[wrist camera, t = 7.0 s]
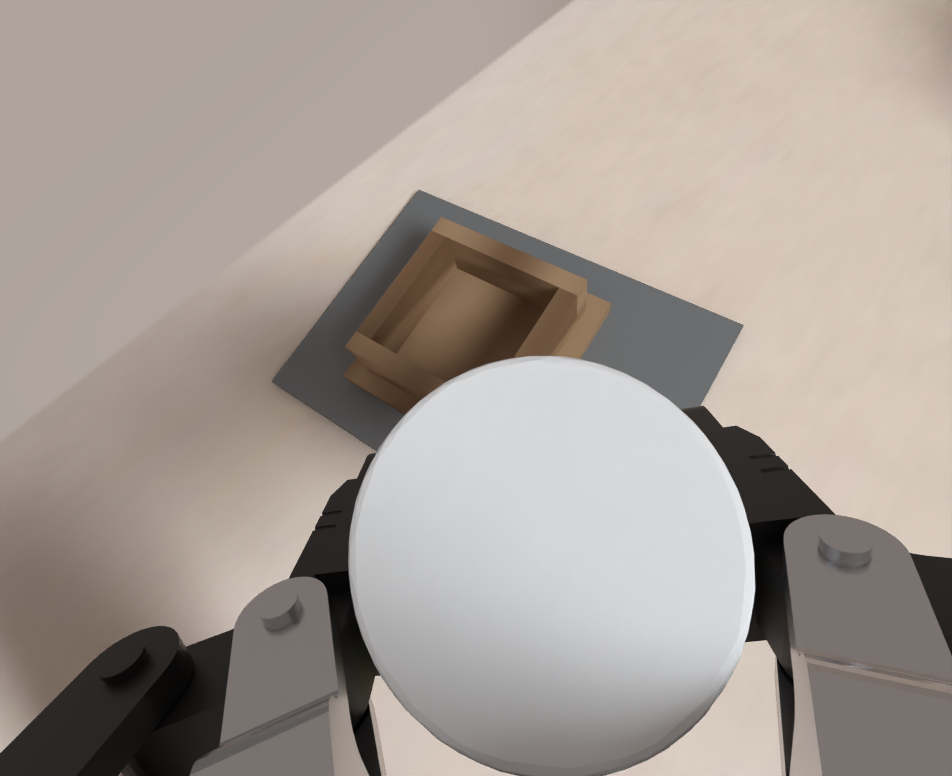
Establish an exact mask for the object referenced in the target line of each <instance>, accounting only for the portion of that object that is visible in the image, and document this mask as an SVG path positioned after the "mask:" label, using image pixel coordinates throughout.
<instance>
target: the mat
mask: <svg viewBox="0 0 952 776" xmlns="http://www.w3.org/2000/svg"><path fill="white" fill-rule="evenodd" d="M441 217H443V218H445V219H448V220H450V221H452V222H455V223H457V224H459V225H462V226H464V227H466V228H469V229H471V230H473V231H475V232H478V233H480V234H482V235H485V236H487V237H489V238H492V239H494V240H496V241H499V242H501V243H503V244H506V245H508V246H510V247H513V248H515V249H517V250H519V251H522V252H524V253H526V254H529V255H531V256H533V257H536V258H538V259H540V260H543V261H545V262H547V263H550V264H552V265H554V266H557V267H559V268H561V269H564V270H566V271H568V272H570V273H573V274H575V275H577V276H580V277H582V278H584V279H587V293H589V294H592V295H594V296H596V297H598V298H601V299H603V300H605V301H607V302H610V303H611V307H610V313H609V314H608V316H607V317H606V319H605V321H604V322H603V324H602V326H601V327H600V329H599V330H598V332H597V334H596V335H595V337H594V339H593V340H592V342H591V343H590V345H589V347H588V348H587V350H586V352H585V353H584V355H583V356H582V358H581V359H582V360H586V361H590V362H594V363H598V364H602V365H605V366H608V367H610V368H613V369H615V370H618V371H620V372H623V373H625V374H627V375H629V376H631V377H633V378H635V379H637V380H639V381H641V382H643V383H645V384H646V385H648V386H649V387H651V388H652V389H654V390H655V391H657V392H658V393H660V394H661V395H663V396H664V397H666V398H667V399H668V400H670V401H671V402H672V403H673V404H674V405H676V406H677V407H678V408H679V409H684V408H691V407H698V406H701V404H702V402H703V400H704V398H705V396H706V394H707V393H708V391H709V389H710V387H711V385H712V383H713V381H714V380H715V378H716V376H717V374H718V372H719V370H720V368H721V367H722V365H723V363H724V361H725V359H726V357H727V356H728V354H729V352H730V350H731V348H732V346H733V344H734V343H735V341H736V339H737V337H738V335H739V333H740V331H741V330H742V328H743V326H744V325H742V324H740V323H737V322H735V321H732V320H730V319H728V318H725V317H723V316H720V315H718V314H716V313H713V312H711V311H708V310H706V309H704V308H701V307H699V306H696V305H694V304H692V303H689V302H687V301H684V300H682V299H680V298H677V297H675V296H672V295H670V294H668V293H665V292H663V291H660V290H658V289H656V288H653V287H651V286H648V285H646V284H644V283H641V282H639V281H636V280H634V279H632V278H629V277H627V276H624V275H622V274H620V273H617V272H615V271H612V270H610V269H608V268H605V267H603V266H600V265H598V264H596V263H593V262H591V261H588V260H586V259H584V258H581V257H579V256H576V255H574V254H572V253H569V252H567V251H564V250H562V249H560V248H557V247H555V246H553V245H550V244H548V243H545V242H543V241H541V240H538V239H536V238H533V237H531V236H529V235H526V234H524V233H521V232H519V231H517V230H514V229H512V228H509V227H507V226H505V225H502V224H500V223H497V222H495V221H493V220H490V219H488V218H485V217H483V216H481V215H478V214H476V213H473V212H471V211H469V210H466V209H464V208H461V207H459V206H457V205H454V204H452V203H449V202H447V201H445V200H442V199H440V198H437V197H435V196H433V195H430V194H428V193H425V192H423V191H421V190H418V192H417V193H416V194H415V196H414V197H413V198H412V200H411V201H410V202H409V203H408V205H407V206H406V207H405V209H404V210H403V211H402V213H401V214H400V215H399V216H398V218H397V219H396V220H395V222H394V223H393V224H392V226H391V227H390V228H389V229H388V231H387V232H386V233H385V235H384V236H383V237H382V239H381V240H380V241H379V242H378V244H377V245H376V246H375V248H374V249H373V250H372V252H371V253H370V254H369V255H368V257H367V258H366V259H365V261H364V262H363V263H362V264H361V266H360V267H359V268H358V270H357V271H356V272H355V274H354V275H353V276H352V277H351V279H350V280H349V281H348V283H347V284H346V285H345V287H344V288H343V289H342V290H341V292H340V293H339V294H338V296H337V297H336V298H335V300H334V301H333V302H332V303H331V305H330V306H329V307H328V309H327V310H326V311H325V313H324V314H323V315H322V316H321V318H320V319H319V320H318V322H317V323H316V324H315V326H314V327H313V328H312V329H311V331H310V332H309V333H308V335H307V336H306V337H305V339H304V340H303V341H302V342H301V344H300V345H299V346H298V348H297V349H296V350H295V352H294V353H293V354H292V355H291V357H290V358H289V359H288V361H287V362H286V363H285V364H284V366H283V367H282V368H281V370H280V371H279V372H278V374H277V375H276V376H275V377H274V379H273V380H272V382H273V383H275V384H276V385H278V386H279V387H281V388H282V389H284V390H285V391H287V392H288V393H290V394H291V395H293V396H294V397H296V398H297V399H299V400H300V401H302V402H303V403H305V404H306V405H308V406H309V407H311V408H312V409H314V410H315V411H317V412H318V413H320V414H321V415H323V416H325V417H326V418H328V419H329V420H331V421H332V422H334V423H335V424H337V425H338V426H340V427H341V428H343V429H344V430H346V431H347V432H349V433H350V434H352V435H353V436H355V437H356V438H358V439H359V440H361V441H362V442H364V443H365V444H367V445H368V446H370V447H371V448H373V449H374V450H376V451H377V450H378V448H379V447H380V446H381V444H382V443H383V441H384V440H385V439H386V437H387V436H388V435H389V433H390V432H391V431H392V430H393V428H394V427H395V426H396V425H397V423H398V422H399V421H400V420H401V419H402V417H403V416H404V414H402V413H400V412H399V411H397V410H396V409H394V408H392V407H391V406H389V405H387V404H386V403H384V402H383V401H381V400H379V399H378V398H376V397H374V396H373V395H371V394H369V393H368V392H366V391H365V390H363V389H361V388H360V387H358V386H356V385H355V384H353V383H352V382H350V381H349V380H348V379H347V378H346V377H344V376H343V375H344V374H345V372H346V371H347V370H348V368H349V367H350V365H351V364H352V363H353V361H354V360H355V359H356V358H355V357H354V356H353V355H352V353H351V352H350V351H349V350H348V349H347V348H346V347H345V346H346V344H347V343H348V342H349V340H350V339H351V337H352V336H353V335H354V333H355V332H356V331H357V329H358V328H359V327H360V325H361V324H362V323H363V321H364V320H365V319H366V317H367V316H368V315H369V313H370V312H371V311H372V309H373V308H374V307H375V305H376V304H377V303H378V301H379V300H380V299H381V297H382V296H383V295H384V293H385V292H386V291H387V289H388V288H389V287H390V285H391V284H392V282H393V281H394V280H395V278H396V277H397V276H398V274H399V273H400V272H401V270H402V269H403V268H404V266H405V265H406V264H407V262H408V261H409V260H410V258H411V257H412V256H413V254H414V253H415V252H416V250H417V249H418V248H419V246H420V245H421V244H422V242H423V241H424V240H425V238H426V237H427V236H428V234H429V233H430V232H431V230H432V229H433V227H434V226H435V225H436V223H437V222H438V221H439V219H440V218H441Z"/></svg>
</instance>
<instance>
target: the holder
mask: <svg viewBox="0 0 952 776" xmlns="http://www.w3.org/2000/svg"><path fill="white" fill-rule="evenodd" d="M610 307H611V303H610V302H607V301H605V300H603V299H601V298H598V297H596V296H594V295H592V294H589V293H587V279H584V278H582V277H580V276H577V275H575V274H573V273H570V272H568V271H566V270H564V269H561V268H559V267H557V266H554V265H552V264H550V263H547V262H545V261H543V260H540V259H538V258H536V257H533V256H531V255H529V254H526V253H524V252H522V251H519V250H517V249H515V248H513V247H510V246H508V245H506V244H503V243H501V242H499V241H496V240H494V239H492V238H489V237H487V236H485V235H482V234H480V233H478V232H475V231H473V230H471V229H469V228H466V227H464V226H462V225H459V224H457V223H455V222H452V221H450V220H448V219H445V218H443V217H441V218H440V219H439V221H438V222H437V223H436V225H435V226H434V227H433V229H432V230H431V232H430V233H429V234H428V236H427V237H426V238H425V240H424V241H423V242H422V244H421V245H420V246H419V248H418V249H417V250H416V252H415V253H414V254H413V256H412V257H411V258H410V260H409V261H408V262H407V264H406V265H405V266H404V268H403V269H402V270H401V272H400V273H399V274H398V276H397V277H396V278H395V280H394V281H393V282H392V284H391V285H390V287H389V288H388V289H387V291H386V292H385V293H384V295H383V296H382V297H381V299H380V300H379V301H378V303H377V304H376V305H375V307H374V308H373V309H372V311H371V312H370V313H369V315H368V316H367V317H366V319H365V320H364V321H363V323H362V324H361V325H360V327H359V328H358V329H357V331H356V332H355V333H354V335H353V336H352V337H351V339H350V340H349V342H348V343H347V344H346V346H345V347H346V348H347V349H348V350H349V351H350V352H351V353H352V355H353V356H354V357H355V358H356V359H355V360H354V361H353V363H352V364H351V365H350V367H349V368H348V370H347V371H346V372H345V374H344V375H343V376H344V377H346V378H347V379H348V380H349V381H350V382H352V383H353V384H355V385H356V386H358V387H360V388H361V389H363V390H365V391H366V392H368V393H369V394H371V395H373V396H374V397H376V398H378V399H379V400H381V401H383V402H384V403H386V404H387V405H389V406H391V407H392V408H394V409H396V410H397V411H399V412H400V413H402V414H404V415H405V414H406V413H407V412H408V411H409V410H410V409H411V408H413V407H414V406H415V405H416V404H417V403H418V402H419V401H420V400H422V399H423V398H424V397H425V396H427V395H428V394H429V393H431V392H432V391H434V390H435V389H436V388H438V387H439V386H441V385H442V384H444V383H445V382H447V381H449V380H451V379H453V378H455V377H457V376H459V375H461V374H463V373H465V372H467V371H469V370H471V369H474V368H477V367H480V366H482V365H485V364H488V363H492V362H496V361H501V360H505V359H510V358H518V357H526V356H564V357H570V358H577V359H581V358H582V356H583V355H584V353H585V352H586V350H587V348H588V347H589V345H590V343H591V342H592V340H593V339H594V337H595V335H596V334H597V332H598V330H599V329H600V327H601V326H602V324H603V322H604V321H605V319H606V317H607V316H608V314H609V313H610Z"/></svg>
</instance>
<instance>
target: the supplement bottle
mask: <svg viewBox="0 0 952 776" xmlns="http://www.w3.org/2000/svg"><path fill="white" fill-rule="evenodd" d="M348 566H349V580H350V589H351V595H352V600H353V605H354V611H355V616H356V619H357V622H358V625H359V628H360V632H361V635H362V638H363V640H364V642H365V644H366V647H367V649H368V651H369V653H370V656H371V658H372V660H373V663H374V665H375V666H376V668H377V670H378V672H379V673H380V675H381V677H382V679H383V680H384V681H385V683H386V684H387V686H388V687H389V689H390V690H391V691H392V693H393V694H394V696H395V697H396V698H397V699H398V701H399V702H400V703H401V704H402V706H403V707H404V708H405V709H406V710H407V711H408V712H409V713H410V714H411V715H412V716H413V717H414V718H415V719H416V720H417V721H418V722H419V723H421V724H422V725H423V726H424V727H425V728H426V729H427V730H428V731H429V732H430V733H432V734H433V735H434V736H435V737H436V738H437V739H438V740H440V741H441V742H443V743H444V744H446V745H448V746H449V747H451V748H452V749H454V750H455V751H457V752H459V753H460V754H462V755H464V756H466V757H468V758H470V759H472V760H474V761H476V762H478V763H480V764H483V765H485V766H488V767H490V768H493V769H495V770H498V771H500V772H505V773H509V774H513V775H518V776H604V775H607V774H611V773H615V772H618V771H622V770H625V769H627V768H630V767H632V766H634V765H637V764H639V763H641V762H644V761H646V760H648V759H650V758H652V757H654V756H655V755H657V754H659V753H661V752H662V751H664V750H666V749H667V748H669V747H670V746H671V745H672V744H674V743H675V742H676V741H677V740H679V739H680V738H681V737H682V736H684V735H685V734H686V733H688V732H689V731H690V730H691V729H692V728H693V727H694V726H695V725H696V724H697V723H698V722H699V721H700V720H701V719H702V718H703V717H704V716H705V715H706V713H707V712H708V710H709V709H710V707H711V706H712V704H713V703H714V702H715V700H716V699H717V697H718V696H719V695H720V693H721V692H722V691H723V689H724V687H725V686H726V684H727V682H728V680H729V679H730V677H731V675H732V673H733V671H734V669H735V667H736V665H737V663H738V661H739V659H740V656H741V653H742V650H743V646H744V643H745V640H746V637H747V634H748V631H749V625H750V620H751V615H752V609H753V603H754V595H755V568H754V550H753V544H752V537H751V531H750V527H749V524H748V520H747V516H746V513H745V509H744V506H743V503H742V500H741V497H740V494H739V492H738V489H737V487H736V485H735V483H734V481H733V479H732V477H731V475H730V473H729V471H728V469H727V467H726V466H725V464H724V462H723V460H722V459H721V457H720V456H719V454H718V453H717V451H716V450H715V448H714V447H713V445H712V444H711V443H710V441H709V440H708V438H707V437H706V436H705V434H704V433H703V432H702V431H701V430H700V429H699V428H698V426H697V425H696V424H695V423H694V422H693V421H692V420H691V419H690V418H689V417H688V416H687V415H686V414H684V413H683V412H682V411H681V410H680V409H679V408H678V407H677V406H676V405H674V404H673V403H672V402H671V401H670V400H668V399H667V398H666V397H664V396H663V395H661V394H660V393H658V392H657V391H655V390H654V389H652V388H651V387H649V386H648V385H646V384H645V383H643V382H641V381H639V380H637V379H635V378H633V377H631V376H629V375H627V374H625V373H623V372H620V371H618V370H615V369H613V368H610V367H608V366H605V365H602V364H598V363H594V362H590V361H586V360H582V359H577V358H570V357H564V356H526V357H518V358H510V359H505V360H501V361H496V362H492V363H488V364H485V365H482V366H480V367H477V368H474V369H471V370H469V371H467V372H465V373H463V374H461V375H459V376H457V377H455V378H453V379H451V380H449V381H447V382H445V383H444V384H442V385H441V386H439V387H438V388H436V389H435V390H434V391H432V392H431V393H429V394H428V395H427V396H425V397H424V398H423V399H422V400H420V401H419V402H418V403H417V404H416V405H415V406H414V407H413V408H411V409H410V410H409V411H408V412H407V413H406V414H405V415H404V416H403V417H402V419H401V420H400V421H399V422H398V423H397V425H396V426H395V427H394V428H393V430H392V431H391V432H390V433H389V435H388V436H387V437H386V439H385V440H384V441H383V443H382V444H381V446H380V447H379V448H378V450H377V453H376V455H375V457H374V459H373V460H372V462H371V464H370V466H369V468H368V470H367V472H366V474H365V477H364V479H363V482H362V484H361V487H360V490H359V493H358V496H357V499H356V502H355V507H354V512H353V517H352V522H351V527H350V535H349V554H348Z"/></svg>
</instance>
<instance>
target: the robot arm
mask: <svg viewBox="0 0 952 776" xmlns="http://www.w3.org/2000/svg"><path fill="white" fill-rule="evenodd" d="M680 410H681V411H682V412H683V413H684V414H686V415H687V416H688V417H689V418H690V419H691V420H692V421H693V422H694V423H695V424H696V425H697V426H698V428H699V429H700V430H701V431H702V432H703V433H704V434H705V436H706V437H707V438H708V440H709V441H710V443H711V444H712V445H713V447H714V448H715V450H716V451H717V453H718V454H719V456H720V457H721V459H722V460H723V462H724V464H725V466H726V467H727V469H728V471H729V473H730V475H731V477H732V479H733V481H734V483H735V485H736V487H737V489H738V492H739V494H740V497H741V500H742V503H743V506H744V509H745V513H746V516H747V520H748V524H749V527H750V531H751V537H752V544H753V550H754V568H755V595H754V603H753V609H752V615H751V620H750V625H749V631H748V634H747V637H746V640H745V642H752V641H762V640H767V641H768V643H769V645H770V646H771V648H772V650H773V652H774V653H775V655H776V658H775V688H776V702H777V715H778V728H779V742H780V755H781V769H782V776H952V558H943V557H934V556H925V555H918V554H912V553H909V552H908V550H907V549H906V547H905V546H904V545H903V544H902V543H901V542H900V541H899V540H898V539H896V538H895V537H894V536H892V535H891V534H889V533H888V532H887V531H885V530H883V529H881V528H879V527H877V526H875V525H872V524H870V523H868V522H865V521H862V520H858V519H855V518H851V517H846V516H840V515H835V514H834V513H833V512H832V511H831V510H830V508H829V507H828V506H827V505H826V504H825V503H824V502H823V501H822V500H821V499H820V498H819V497H818V496H817V495H816V494H815V493H814V492H813V491H812V490H811V489H810V488H809V487H808V486H807V485H806V484H805V483H804V482H803V481H802V480H801V479H800V478H799V477H798V476H797V475H796V474H795V473H794V472H793V471H792V470H791V469H790V470H789V469H788V465H787V464H786V463H785V462H784V461H783V460H782V459H781V458H780V457H779V456H776V455H775V452H774V451H773V450H772V449H771V448H770V447H769V446H768V445H767V444H766V443H765V442H764V441H763V440H762V439H761V438H760V437H758V436H756V435H754V434H752V433H750V432H748V431H746V430H744V429H742V428H740V427H738V426H731V427H724V428H723V427H722V426H721V425H720V423H719V422H718V421H717V420H716V419H715V418H714V417H713V415H712V414H711V413H710V412H709V411H708V410H707V409H706V408H705V407H704V406H698V407H691V408H684V409H680ZM375 455H376V453H373V454H369V455H368V456H367V458H366V460H365V462H364V465H363V467H362V469H361V471H360V473H359V476H358V478H357V479H351V480H347V481H346V482H345V483H344V484H343V485H342V486H341V487H340V488H339V489H338V490H336V491H335V492H334V493H333V494H332V495H331V497H330V498H329V500H328V502H327V504H326V506H325V508H324V510H323V512H322V516H320V518H319V520H318V522H317V524H316V526H315V531H313V532H312V534H311V536H310V538H309V540H308V542H307V544H306V546H305V548H304V550H303V552H302V554H301V556H300V557H299V559H298V561H297V563H296V565H295V567H294V569H293V571H292V573H291V575H290V577H289V579H287V580H284V581H281V582H279V583H277V584H274V585H273V586H271V587H269V588H267V589H266V590H264V591H263V592H261V593H260V594H259V595H257V596H256V597H255V598H254V599H253V600H252V601H251V602H250V603H249V604H248V605H247V606H246V607H245V608H244V609H243V611H242V612H241V614H240V615H239V617H238V619H237V621H236V623H235V627H234V629H232V630H230V631H227V632H225V633H222V634H219V635H216V636H214V637H211V638H208V639H206V640H203V641H200V642H198V643H195V644H192V645H189V646H187V647H185V645H184V644H183V642H182V640H181V638H180V637H179V635H178V633H177V632H176V631H175V630H174V629H172V628H170V627H166V626H156V627H150V628H147V629H143V630H140V631H138V632H135V633H133V634H131V635H129V636H127V637H125V638H123V639H121V640H120V641H118V642H116V643H115V644H113V645H112V646H111V647H109V648H108V649H106V650H105V651H104V652H103V653H101V654H100V655H99V656H98V657H97V658H96V659H94V660H93V661H92V662H91V663H90V664H89V665H88V666H87V667H86V668H85V669H84V670H83V671H82V672H81V673H80V674H79V675H78V676H77V677H76V678H75V679H74V680H73V681H72V682H71V683H70V684H69V685H68V686H67V687H66V688H65V689H64V690H63V691H62V692H61V693H60V694H59V695H58V696H57V697H56V698H55V699H54V700H53V701H52V702H51V703H50V704H49V705H48V706H47V707H46V708H45V709H44V710H43V711H42V712H41V713H40V714H39V715H38V716H37V717H36V718H35V719H34V720H33V721H32V722H31V723H30V724H29V725H28V726H27V727H26V728H25V729H24V730H23V731H22V732H21V733H20V734H19V735H18V736H17V737H16V738H15V739H14V740H13V741H12V742H11V743H10V744H9V745H8V746H7V747H6V748H5V749H4V750H3V751H2V752H1V753H0V776H118V775H119V774H120V772H121V773H122V774H123V775H124V776H387V775H386V769H385V764H384V758H383V753H382V747H381V742H380V736H379V731H378V725H377V720H376V714H375V709H374V706H373V703H372V700H371V698H370V695H371V691H372V687H373V683H374V678H375V676H380V673H379V672H378V670H377V668H376V666H375V665H374V663H373V660H372V658H371V656H370V653H369V651H368V649H367V647H366V644H365V642H364V640H363V638H362V635H361V632H360V628H359V625H358V622H357V619H356V616H355V611H354V605H353V600H352V595H351V589H350V580H349V566H348V554H349V535H350V527H351V522H352V517H353V512H354V507H355V502H356V499H357V496H358V493H359V490H360V487H361V484H362V482H363V479H364V477H365V474H366V472H367V470H368V468H369V466H370V464H371V462H372V460H373V459H374V457H375Z"/></svg>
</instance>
